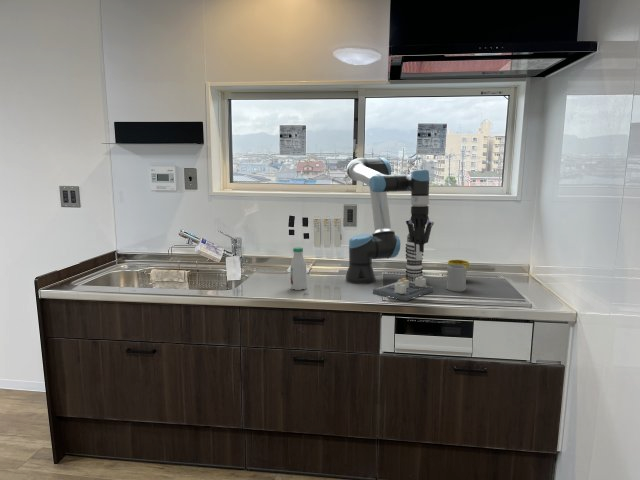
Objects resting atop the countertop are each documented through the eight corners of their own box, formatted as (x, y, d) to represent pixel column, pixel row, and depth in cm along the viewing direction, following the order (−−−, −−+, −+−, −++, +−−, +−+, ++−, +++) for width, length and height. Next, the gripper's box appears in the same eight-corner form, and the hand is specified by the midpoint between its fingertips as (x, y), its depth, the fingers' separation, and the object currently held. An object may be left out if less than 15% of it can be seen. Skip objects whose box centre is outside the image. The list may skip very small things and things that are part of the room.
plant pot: (466, 283, 220) (466, 264, 219) (445, 281, 225) (445, 262, 224) (470, 279, 229) (471, 260, 228) (450, 277, 234) (450, 258, 233)
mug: (466, 291, 205) (467, 268, 204) (447, 291, 207) (448, 268, 205) (463, 285, 217) (464, 263, 215) (445, 284, 219) (446, 262, 217)
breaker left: (394, 292, 198) (394, 282, 197) (398, 291, 200) (398, 281, 199) (402, 293, 195) (402, 284, 194) (406, 292, 197) (406, 283, 196)
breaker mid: (397, 287, 206) (397, 278, 205) (401, 286, 208) (401, 277, 207) (405, 288, 203) (405, 279, 202) (408, 287, 205) (408, 278, 205)
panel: (373, 293, 205) (373, 288, 204) (400, 284, 220) (401, 280, 219) (405, 301, 192) (405, 295, 192) (433, 291, 207) (433, 286, 207)
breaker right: (414, 285, 209) (415, 276, 208) (418, 284, 211) (418, 275, 210) (422, 287, 206) (422, 278, 205) (425, 285, 208) (426, 276, 207)
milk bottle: (309, 287, 217) (308, 247, 214) (302, 291, 210) (301, 249, 207) (295, 286, 220) (294, 246, 217) (288, 289, 213) (287, 248, 211)
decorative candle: (423, 283, 221) (424, 234, 217) (404, 283, 222) (405, 233, 219) (423, 279, 230) (423, 231, 226) (404, 279, 231) (405, 231, 228)
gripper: (402, 205, 196) (401, 258, 200) (428, 206, 187) (427, 261, 190) (412, 204, 201) (411, 255, 205) (437, 205, 192) (436, 259, 196)
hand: (419, 258), depth 198 cm, fingers closed
